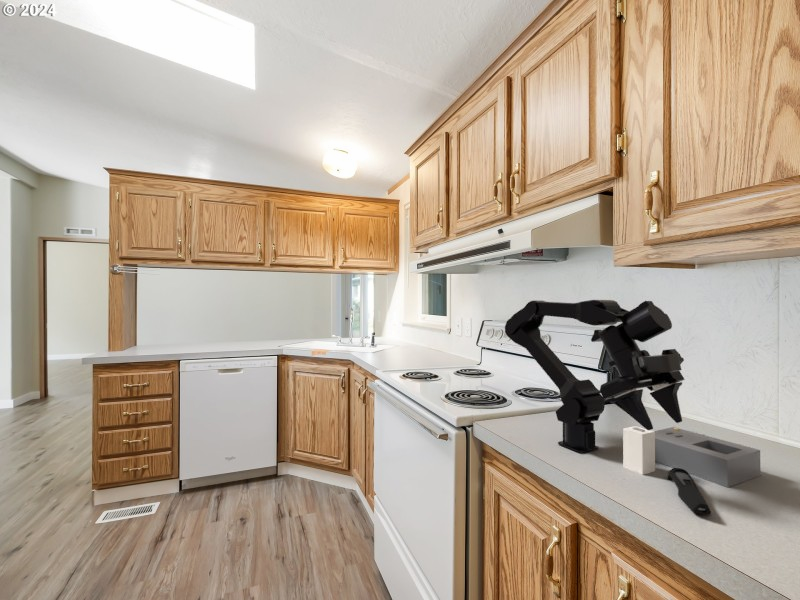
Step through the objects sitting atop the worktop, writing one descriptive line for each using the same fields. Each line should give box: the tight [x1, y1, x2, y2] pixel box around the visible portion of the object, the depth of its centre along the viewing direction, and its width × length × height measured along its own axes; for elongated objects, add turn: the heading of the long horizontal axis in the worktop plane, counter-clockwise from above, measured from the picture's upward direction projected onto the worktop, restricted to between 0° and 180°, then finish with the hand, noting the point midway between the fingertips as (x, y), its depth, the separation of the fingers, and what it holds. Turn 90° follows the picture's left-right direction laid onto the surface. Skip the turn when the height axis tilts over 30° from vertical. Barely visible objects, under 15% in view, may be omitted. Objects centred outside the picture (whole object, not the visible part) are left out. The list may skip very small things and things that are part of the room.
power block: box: [653, 426, 762, 488], centre depth 80 cm, size 16×12×5 cm
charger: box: [622, 425, 656, 476], centre depth 78 cm, size 4×4×8 cm
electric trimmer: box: [666, 468, 712, 516], centre depth 67 cm, size 4×16×3 cm, turn 156°
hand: (665, 425), depth 74 cm, fingers open, 9 cm apart
